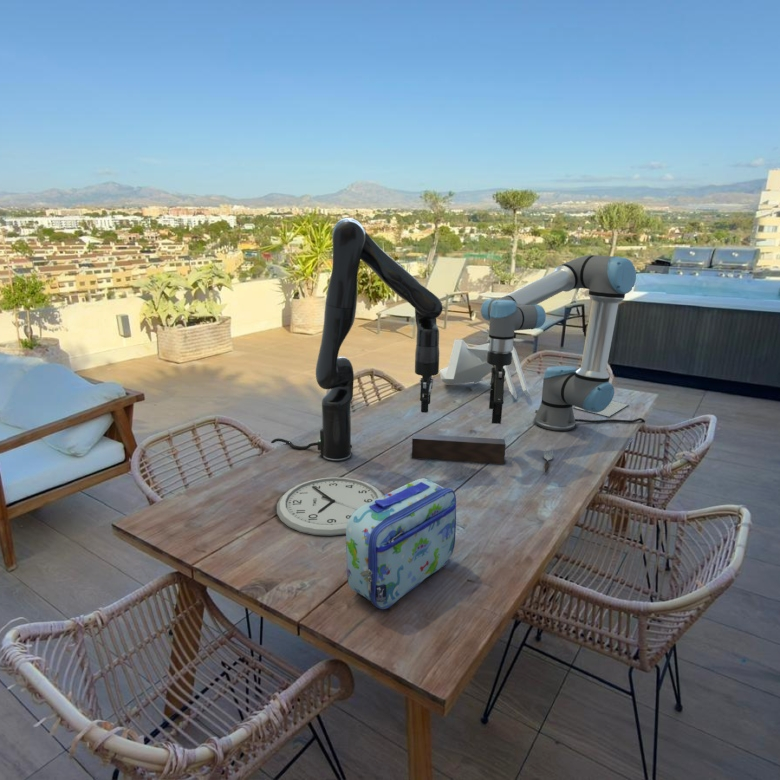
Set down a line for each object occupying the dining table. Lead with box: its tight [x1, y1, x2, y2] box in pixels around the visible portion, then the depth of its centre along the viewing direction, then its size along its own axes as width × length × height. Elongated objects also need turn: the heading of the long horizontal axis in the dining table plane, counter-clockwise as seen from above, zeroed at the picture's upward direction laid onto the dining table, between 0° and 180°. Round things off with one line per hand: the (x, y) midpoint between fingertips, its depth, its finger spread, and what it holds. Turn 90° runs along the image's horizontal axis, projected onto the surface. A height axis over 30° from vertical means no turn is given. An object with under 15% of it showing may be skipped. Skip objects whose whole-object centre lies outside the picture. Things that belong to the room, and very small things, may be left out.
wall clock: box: [276, 476, 385, 537], centre depth 142 cm, size 30×2×30 cm
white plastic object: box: [439, 338, 531, 400], centre depth 245 cm, size 37×45×31 cm
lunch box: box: [345, 477, 457, 610], centre depth 110 cm, size 26×11×21 cm, turn 134°
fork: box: [543, 448, 554, 473], centre depth 170 cm, size 3×16×2 cm, turn 160°
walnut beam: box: [411, 433, 507, 465], centre depth 172 cm, size 30×4×7 cm, turn 83°
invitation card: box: [573, 400, 629, 418], centre depth 226 cm, size 21×1×15 cm
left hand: (425, 407), depth 168 cm, fingers open, 8 cm apart
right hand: (494, 415), depth 167 cm, fingers open, 13 cm apart
